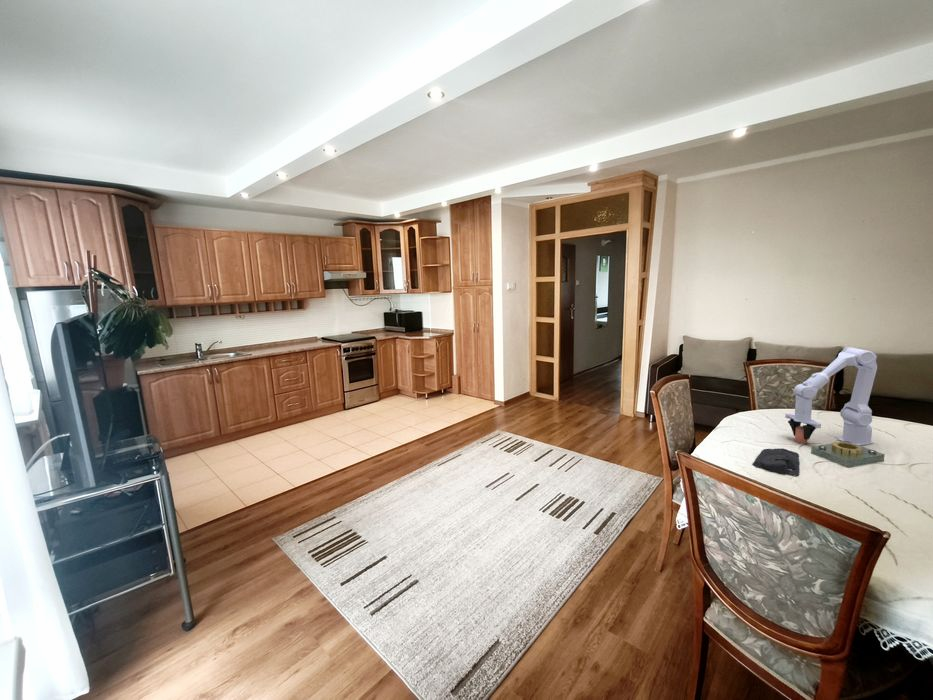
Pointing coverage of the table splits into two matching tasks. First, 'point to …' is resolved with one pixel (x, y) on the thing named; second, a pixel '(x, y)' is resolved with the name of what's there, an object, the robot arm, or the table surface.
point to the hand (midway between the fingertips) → (801, 437)
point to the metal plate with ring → (847, 454)
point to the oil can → (800, 435)
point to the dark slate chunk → (778, 461)
